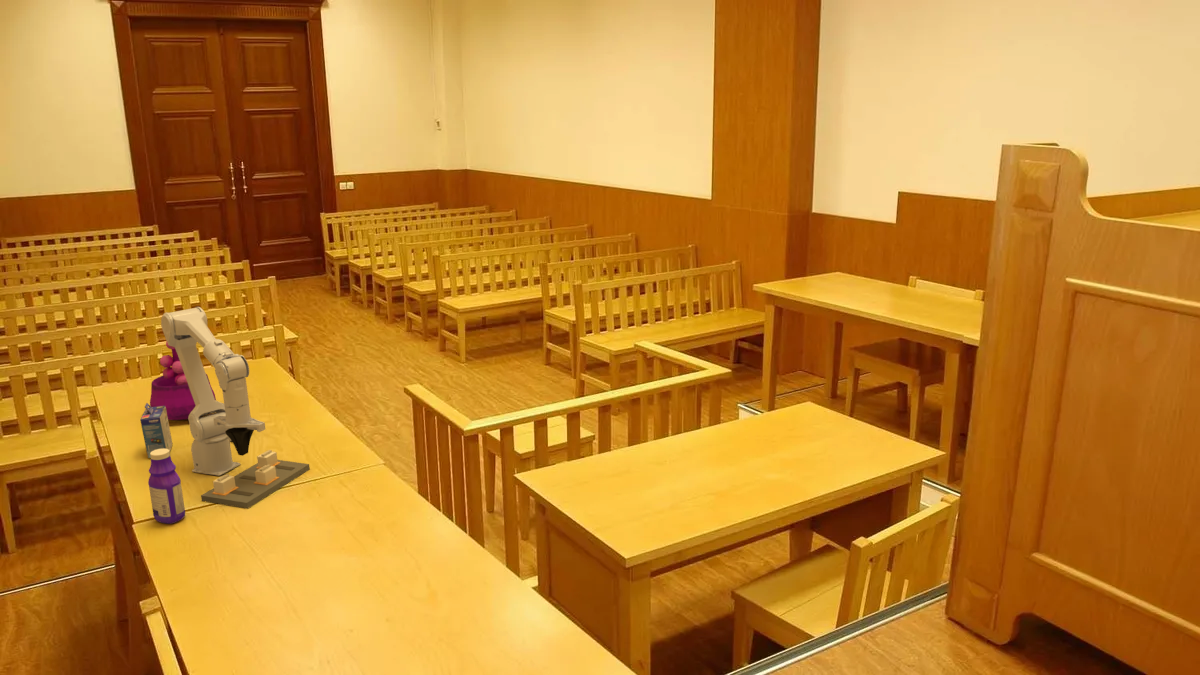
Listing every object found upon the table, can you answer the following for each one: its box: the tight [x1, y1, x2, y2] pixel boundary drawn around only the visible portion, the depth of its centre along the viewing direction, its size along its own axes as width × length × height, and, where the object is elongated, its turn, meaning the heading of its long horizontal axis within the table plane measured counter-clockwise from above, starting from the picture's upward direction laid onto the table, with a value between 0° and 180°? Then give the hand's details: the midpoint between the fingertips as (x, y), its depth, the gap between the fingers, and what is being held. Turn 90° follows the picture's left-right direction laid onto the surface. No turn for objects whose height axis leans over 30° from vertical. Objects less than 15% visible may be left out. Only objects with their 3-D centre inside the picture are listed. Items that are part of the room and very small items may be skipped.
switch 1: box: [212, 473, 236, 494], centre depth 216 cm, size 3×4×4 cm
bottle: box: [148, 448, 186, 525], centre depth 203 cm, size 7×6×17 cm
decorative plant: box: [149, 340, 217, 421], centre depth 269 cm, size 19×19×30 cm
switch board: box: [200, 459, 311, 509], centre depth 223 cm, size 14×24×2 cm, turn 161°
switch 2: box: [256, 449, 278, 467], centre depth 231 cm, size 3×4×4 cm
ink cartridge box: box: [139, 402, 173, 459], centre depth 244 cm, size 10×6×14 cm, turn 18°
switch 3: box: [255, 464, 276, 484], centre depth 222 cm, size 3×4×4 cm
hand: (243, 453), depth 221 cm, fingers closed
